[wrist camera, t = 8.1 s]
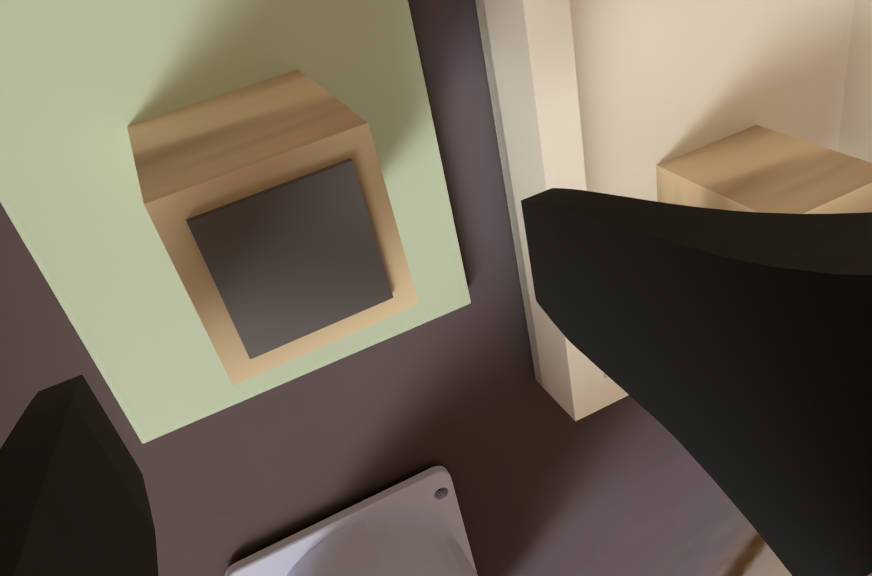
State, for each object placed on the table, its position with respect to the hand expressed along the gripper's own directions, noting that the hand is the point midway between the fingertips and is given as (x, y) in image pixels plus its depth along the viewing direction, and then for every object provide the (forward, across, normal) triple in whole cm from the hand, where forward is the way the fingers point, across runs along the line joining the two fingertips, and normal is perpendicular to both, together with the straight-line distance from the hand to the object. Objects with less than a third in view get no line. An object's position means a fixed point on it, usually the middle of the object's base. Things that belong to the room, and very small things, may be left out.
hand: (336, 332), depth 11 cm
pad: (+8, 0, 0) cm, 8 cm away
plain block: (+8, -14, +6) cm, 17 cm away
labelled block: (+8, 0, 0) cm, 8 cm away
